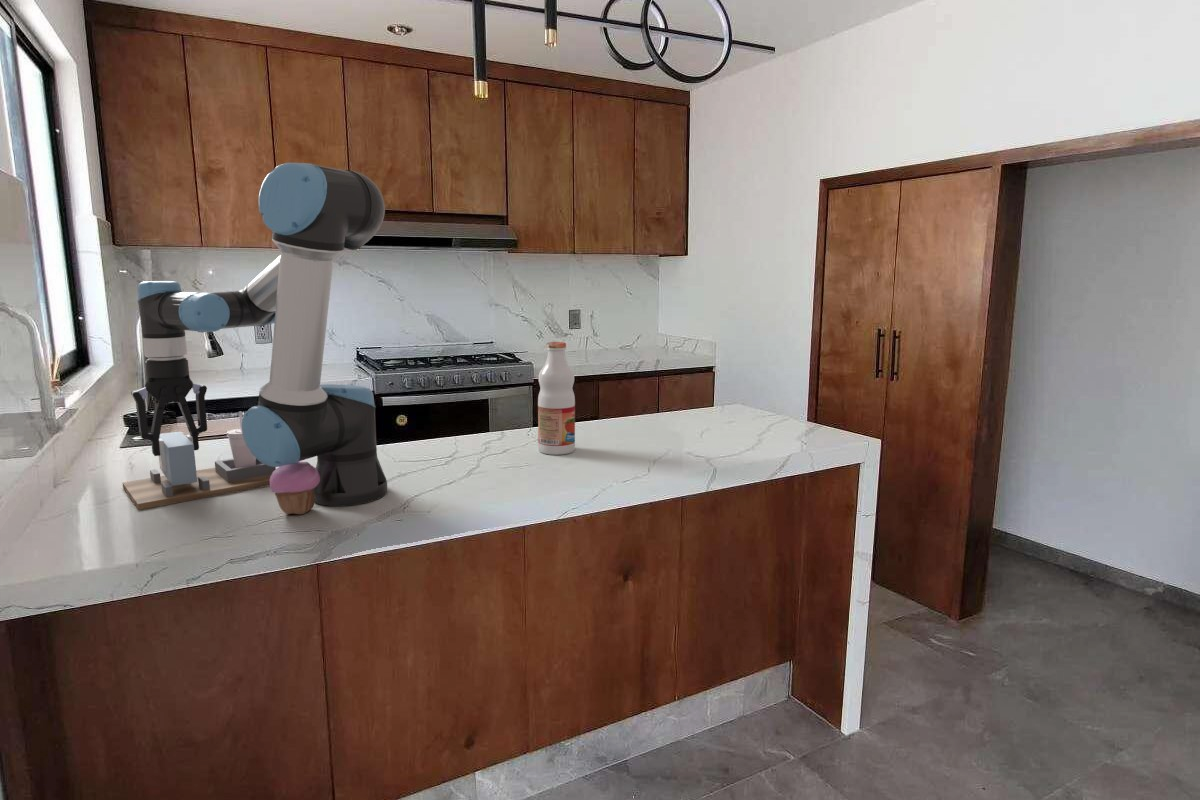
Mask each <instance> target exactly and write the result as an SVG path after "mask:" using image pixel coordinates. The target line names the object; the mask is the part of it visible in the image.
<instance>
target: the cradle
mask: <svg viewBox="0 0 1200 800" xmlns="http://www.w3.org/2000/svg"><path fill="white" fill-rule="evenodd" d="M214 468H215V471H216V473H217V474H218V475H220V476H221V477H222V478H223V479H224V480H226V481H227V482H233V481H238V480H244V479H250V478H255V477H261V476H267V475H272V473H273V471H274V470H276V469H277V467H272V466H268V465H265V464H263V463H262V462H260V461H259V460H258V459H257V458H256V465H251V466H245V467H239V468H235V463H234V459H233V458H227V459H221V460H215V461H214Z"/></svg>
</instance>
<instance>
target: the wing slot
mask: <svg viewBox="0 0 1200 800" xmlns="http://www.w3.org/2000/svg"><path fill="white" fill-rule="evenodd" d="M149 474H150V478H151V480H152V481H153V482H154V483H160V482H161V478H160V476H161V472H159V471H158V469H157V468H154V469H150V470H149ZM198 482H199V487H200V488H201V489H202V490H203V491H205V490H210V483H209V480H208V479H207V478H206V477H205V476H201V477H198ZM161 486H162V493H163V494H164V495H165V496H166V497H171V496H173V489H172V486H171V485H170V484H169V483H168V482H165V483H161Z"/></svg>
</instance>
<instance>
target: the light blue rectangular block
mask: <svg viewBox="0 0 1200 800" xmlns="http://www.w3.org/2000/svg"><path fill="white" fill-rule="evenodd" d="M159 438H161V439H162V440H163V441H164V451H165V460H166V469H167V471H165V472H162V474H163V476H166V478H167V479H168V481H169V482H170V484H171V485H172V486H176V485H182V484H188V483H195V482H197V474H196V471H197V465H196V456H195V454H196V453H195V450H194V444H193V443H192V442H191V441H190V440H189V439H188V438H187V437H186V434H184V433H183V432H182V431H181V430H180V431H174V432H164V433H163V432H162V433H160V437H159Z"/></svg>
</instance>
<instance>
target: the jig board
mask: <svg viewBox="0 0 1200 800" xmlns="http://www.w3.org/2000/svg"><path fill="white" fill-rule="evenodd" d="M196 474H197V482H195V483H188V484H182V485H176V486H172V485H171V484H170V482H169V481H168V479H167V478H166V476H165V475H160V478H161V482H160V483H154V482H153V481H152V480H151V477H148V478H142V479H141V478H140V479H135V480H130V481H125V482H124V481H123V482H121V483H122V489H123V490H124V492H125V493H126V494H127V496H128V498H129V499H130V501H131V502H132V503H133V504H134V506H135V507H136V509H137V510H140V511H141V510H145V509H151V508H156V507H161V506H166V505H171V504H177V503H184V502H188V501H189V502H190V501H194V500H199V499H204V498H205V499H206V498H211V497H215V496H216V497H217V496H222V495H226V494H227V495H228V494H232V493H237V492H242V491H248V490H253V489H259V488H265V487H270V477H271V475H267V476H261V477H255V478H250V479H244V480H238V481H233V482H227V481H226V480H224V479H223V478H222V477H221V476H220V475H218V474H217V473H216V471H215V467H211V468H210V467H209V468H204V469H198V470H197V469H196ZM201 476H205V477H206V478H207V479H208V480H209V483H210V490H205V491H203V490H202V489H201V488H200V487H199V482H198V477H201ZM165 482H168V483H169V484H170V485H171V486H172V489H173V496H171V497H166V496H165V495H164V494H163V493H162V486H161V483H165Z"/></svg>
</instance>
